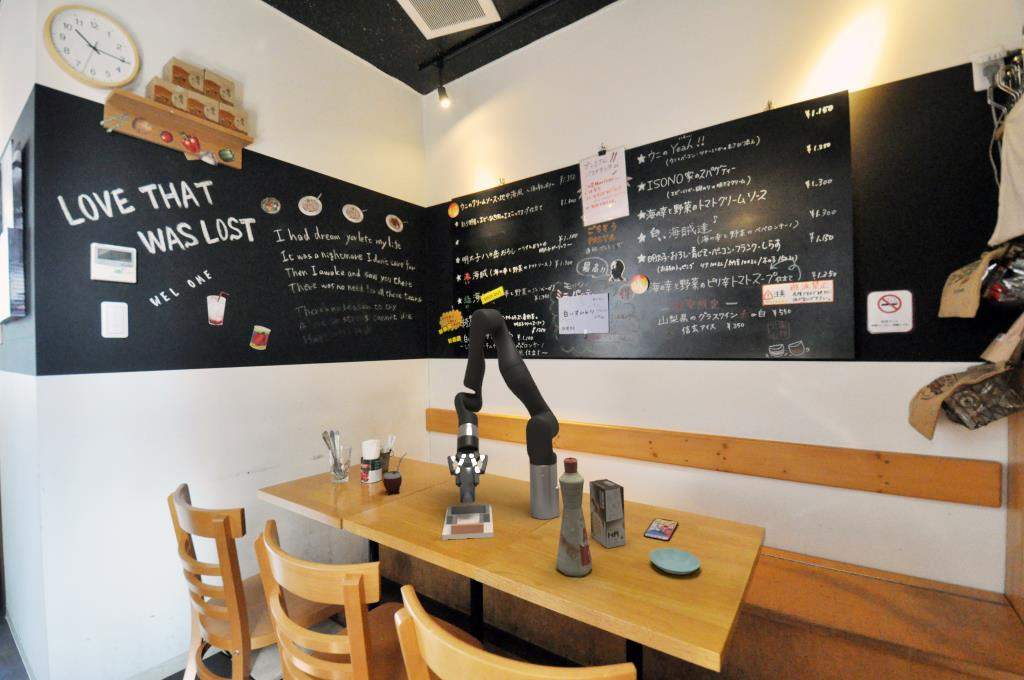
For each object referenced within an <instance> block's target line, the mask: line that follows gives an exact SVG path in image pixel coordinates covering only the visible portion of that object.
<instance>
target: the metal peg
mask: <svg viewBox="0 0 1024 680" xmlns="http://www.w3.org/2000/svg"><path fill="white" fill-rule="evenodd" d="M459 503H461V504H463V505H470V504H473V503H476V487H475V465H470V464H466V465H461V466H460V487H459Z"/></svg>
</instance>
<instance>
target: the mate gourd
mask: <svg viewBox="0 0 1024 680" xmlns="http://www.w3.org/2000/svg"><path fill="white" fill-rule="evenodd" d="M406 455H407V452H405V453H404V455H402V456H401V458H400V459H399V460H398V461H399V462H398V464H397V468H396V470H391V471H387V472H385V473H384V475H383V480H382V483H383V487H384V489H385V493H386V496H387V495H388V496H392V495H400V494H399V493H400V489H401V485H402V482H403V478H402V474H401V472H400V471H399V469H400V466H401V463H402V460H403V459H404V458H405V457H406ZM393 493H394V494H393ZM388 496H387V497H388Z"/></svg>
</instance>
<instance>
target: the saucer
mask: <svg viewBox="0 0 1024 680" xmlns="http://www.w3.org/2000/svg"><path fill="white" fill-rule="evenodd" d="M649 560H651V562H652V563H653V564H654V565H655V566H656V567H657V568H659V569H660V570H661V571H664V572H665V573H668V574H672V575H678V576H680V575H688V574H691V573H693V572H695V571H696V570H697V569H699V568H700V565H701V561H700V559H698V557H697V556H696V555H694V554H692V553H690V552H688V551H685V550H683V549H678V548H672V547H671V548H669V547H668V548H667V547H663V548H662V547H660V548H657V549H655V550H652V551H651V552H650V554H649Z"/></svg>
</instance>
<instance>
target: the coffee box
mask: <svg viewBox="0 0 1024 680" xmlns="http://www.w3.org/2000/svg"><path fill="white" fill-rule="evenodd" d="M588 484H589V507H590V508H589V509H590V510H589V512H590V513H589V514H590V515H589V516H590V535H591V538H593V540H595V541H597V542H598V543H600V544H601V545H602V546H604V547H605V548H606V549H610V548H615V547H621V546H625V545H626V524H625V523H626V522H625V520H626V519H625V491H624V486H622V485H620V484H617V483H615V482H614V481H612V480H610V479H607V478H602V479H596V480H593V481H589V483H588Z"/></svg>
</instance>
